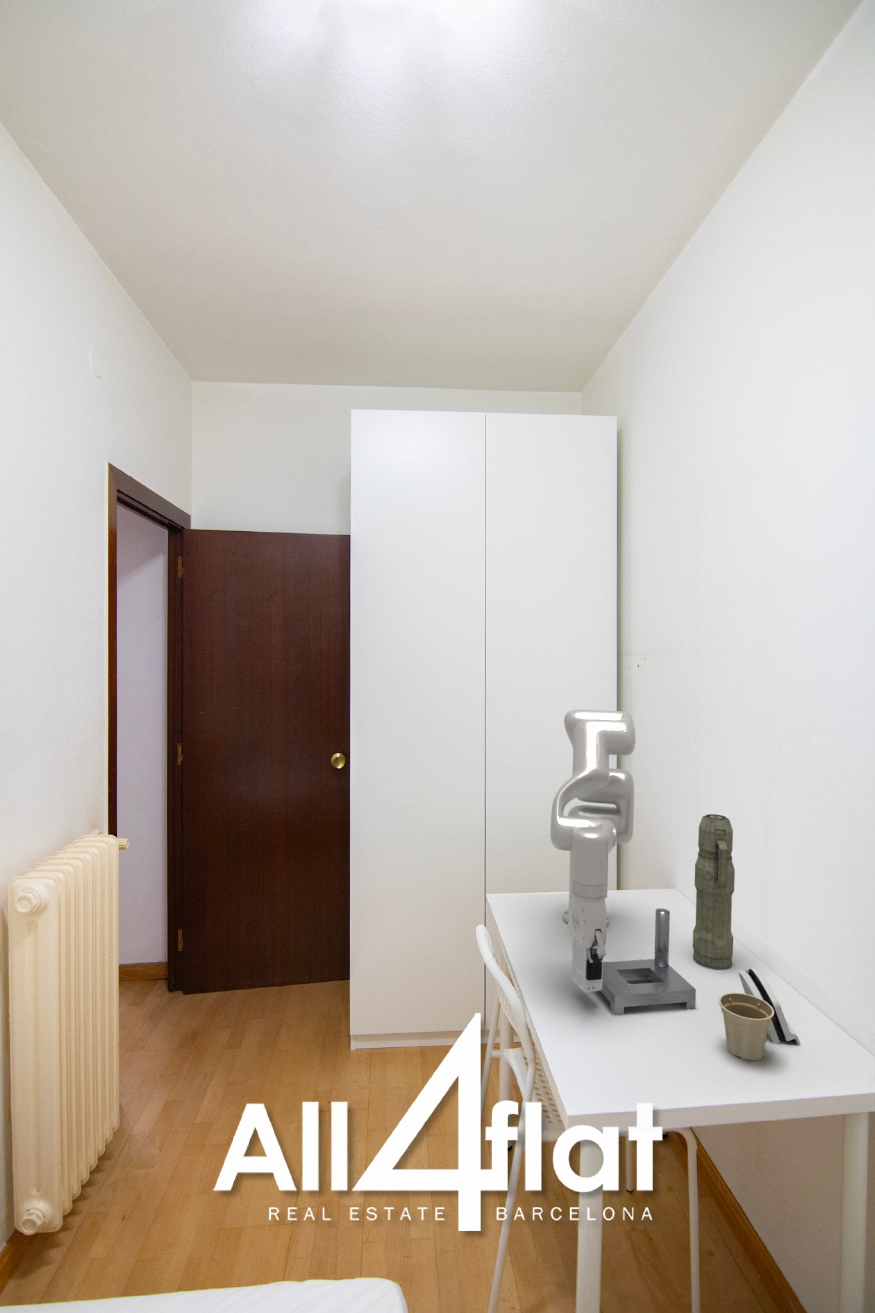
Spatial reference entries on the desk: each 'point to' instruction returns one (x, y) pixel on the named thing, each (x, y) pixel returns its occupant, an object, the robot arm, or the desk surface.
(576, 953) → the skincare box
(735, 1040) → the flower pot
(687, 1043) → the desk surface
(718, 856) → the thermos
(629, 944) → the desk surface
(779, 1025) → the white curved piece
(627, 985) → the gray square stand
